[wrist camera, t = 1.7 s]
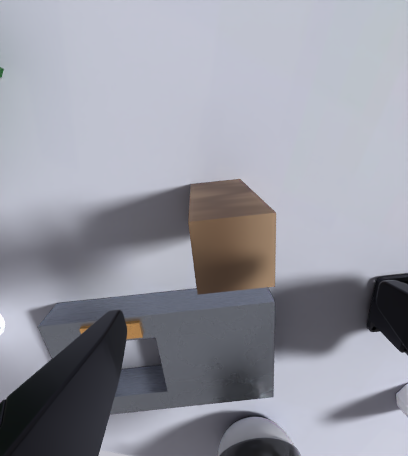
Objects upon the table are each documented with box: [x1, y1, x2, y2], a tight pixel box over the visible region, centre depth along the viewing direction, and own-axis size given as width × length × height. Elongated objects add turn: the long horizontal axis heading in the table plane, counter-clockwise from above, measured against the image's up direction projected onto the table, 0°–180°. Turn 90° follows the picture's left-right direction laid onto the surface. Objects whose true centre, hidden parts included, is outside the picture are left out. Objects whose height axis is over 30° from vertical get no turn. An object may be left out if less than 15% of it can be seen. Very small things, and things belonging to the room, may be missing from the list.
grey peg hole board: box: [38, 287, 275, 414], centre depth 23 cm, size 20×12×3 cm, turn 95°
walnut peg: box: [188, 179, 276, 295], centre depth 16 cm, size 4×4×9 cm
